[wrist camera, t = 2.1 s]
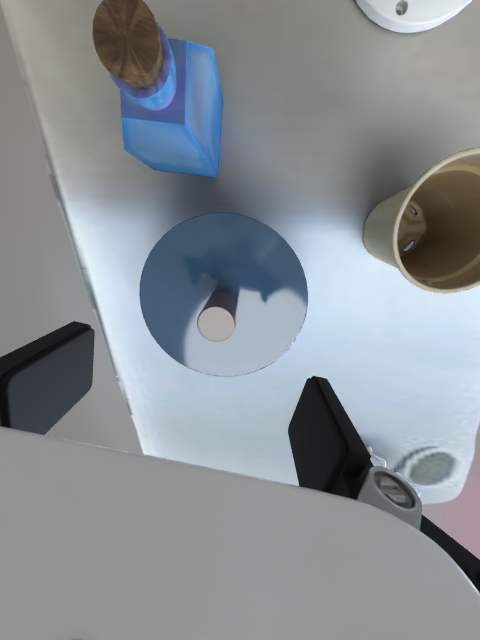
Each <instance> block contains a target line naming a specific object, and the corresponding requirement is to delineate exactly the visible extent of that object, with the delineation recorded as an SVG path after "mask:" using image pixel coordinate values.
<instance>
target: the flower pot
mask: <svg viewBox="0 0 480 640" xmlns="http://www.w3.org/2000/svg"><path fill="white" fill-rule="evenodd" d="M410 206H411V207H413V208H414V209H415V210H416V212H417V215H416V216H415V215H414V214H413V213H411V210H410ZM363 241H364V245H365V247H366V249H367V251H368V252H369V253H370V254H371V255H372V256H373V257H375V258H376V259H379V260H381V261H383V262H385V263H388V264H390V265H392V266H394V267H396V268H398V269H399V271H400V272H401V274H402V275H403V276H404V277H405V278H406V279H407V280H408V281H409V282H411V283H412V284H413V285H415V286H417V287H419V288H421V289H423V290H426V291H430V292H434V293H444V294H446V293H457V292H461V291H465V290H469V289H472V288H474V287H477V286H479V285H480V147H477V148H472V149H468V150H464V151H461V152H458V153H456V154H453V155H451V156H449V157H447V158H445V159H444V160H442V161H440V162H438V163H437V164H435V165H434V166H433V167H431V168H430V169H429V170H427V171H426V172H425V173H424V174H423V175H422V176H421V177H420V178H419V179H418V180H417V181H416V182H415V183H414V184H413V186H411V187H409V188H407V189H405V190H403V191H401V192H400V193H398V194H396V195H394V196H392V197H390V198H388V199H386V200H384V201H383V202H381V203H380V204H378V205H377V206H376V207H375V208H374V209H373V210H372V212H371V213H370V214H369V216H368V218H367V220H366V222H365V226H364V235H363ZM412 241H414V243H413V245H412V246H411V247H410V248H409V249H408V250H407V251H404V249H405V248H406V247H407V246H408V245H409V244H410V243H411V242H412Z"/></svg>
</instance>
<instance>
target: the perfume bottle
mask: <svg viewBox="0 0 480 640" xmlns="http://www.w3.org/2000/svg"><path fill="white" fill-rule="evenodd" d="M93 40H94V45H95V49H96V52H97V54H98V56H99V58H100V61H101V62H102V64H103V65H104V66H105V68H106V69H107V70H108V71H109V73H110V75H111V77H112V79H113V81H114V82H115V83H116V85H117V86H118V87H119V88H120V99H121V119H122V132H123V144H124V150H126V151H127V152H129V153H130V154H132V155H133V156H135V157H136V158H137V159H139V160H140V161H142V162H143V163H145V164H146V165H148V166H149V167H151V168H152V169H154V170H159V171H167V172H175V173H184V174H192V175H200V176H209V177H218V162H219V148H220V133H221V119H222V104H223V97H222V91H221V86H220V81H219V75H218V70H217V64H216V59H215V54H214V49H212V48H209V47H206V46H202V45H199V44H196V43H193V42H189V41H185V40H177V39H169V38H166V36H165V33H164V32H163V31H162V29H161V28H160V26H159V25H158V23H157V22H156V21H155V18H154V15H153V14H152V12H151V11H150V9H149V8H148V6H147V5H146V3H144V2H143V1H142V0H103V1H102V2H101V3H100V5H99V6H98V8H97V10H96V13H95V17H94V20H93Z"/></svg>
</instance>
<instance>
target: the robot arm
mask: <svg viewBox="0 0 480 640" xmlns="http://www.w3.org/2000/svg"><path fill="white" fill-rule="evenodd" d="M471 1H472V0H356V2H357V4H358V6H359V7H360V8H361V9H362V11H363V12H364V13H365V14H366V15H367V17H368V18H370V19H371V20H372V21H374V22H375V23H376V24H378V25H379V26H381V27H383V28H386V29H388V30H391V31H393V32H401V33H414V32H421V31H425V30H428V29H431V28H433V27H436V26H439V25H441V24H442V23H444V22H446V21H447V20H449V19H450V18H452V17H454V16H455V15H457V14H458V13H459V12H460V11H461V10H462V9H463V8H465V7H466V6H467V5H468V4H469V3H470V2H471ZM94 334H95V333H94V330H93V329H91V326H90V325H88V324H84V323H79V322H75V321H74V322H71V323H69V324H67V325H66V326H63V327H61V328H59V329H57V330H55V331H53V332H51V333H49V334H47V335H45V336H43V337H41V338H39V339H37V340H35V341H33V342H31V343H29V344H27V345H25V346H23V347H21V348H19V349H17V350H15V351H13V352H11V353H9V354H6V355H4V356H2V357H0V640H480V560H479V559H478V558H476V557H475V556H474V555H473V554H472V553H470V552H469V551H468V550H467V549H465V548H464V547H463V546H461V545H460V544H459V543H458V542H456V541H455V540H454V539H453V538H451V537H450V536H449V535H447V534H446V533H445V532H444V531H442V530H441V529H440V528H439V527H437V526H436V525H435V524H433V523H432V522H431V521H430V520H428V519H427V518H426V517H425V516H423V515H422V503H421V500H420V498H419V496H418V494H417V493H416V491H415V490H414V489H413V487H412V486H411V485H410V484H409V483H408V482H407V481H406V480H405V479H404V478H402V477H401V476H400V475H398V474H397V473H395V472H394V471H392V470H390V469H388V468H385V467H382V466H373V464H372V462H371V460H370V458H371V456H370V454H369V452H368V450H367V448H366V447H365V445H364V443H363V441H362V440H361V438H360V436H359V434H358V433H357V431H356V429H355V427H354V426H353V424H352V422H351V420H350V419H349V417H348V415H347V413H346V412H345V410H344V408H343V406H342V404H341V403H340V401H339V399H338V397H337V396H336V394H335V392H334V390H333V389H332V387H331V385H330V383H329V382H328V380H327V379H325V378H321V377H316V376H313V377H312V378H311V379H310V378H308V379H307V381H306V383H305V386H304V389H303V391H302V394H301V396H300V399H299V401H298V404H297V406H296V409H295V412H294V414H293V417H292V419H291V422H290V424H289V428H288V434H289V439H290V444H291V449H292V453H293V458H294V463H295V467H296V472H297V477H298V481H299V486H295V485H290V484H285V483H281V482H276V481H271V480H266V479H261V478H257V477H252V476H247V475H242V474H237V473H233V472H228V471H223V470H218V469H213V468H208V467H204V466H199V465H194V464H189V463H184V462H179V461H174V460H169V459H164V458H159V457H154V456H149V455H144V454H139V453H134V452H129V451H124V450H119V449H114V448H108V447H104V446H98V445H93V444H88V443H83V442H78V441H72V440H68V439H62V438H57V437H52V436H47V435H45V434H46V433H47V432H48V430H50V429H51V427H53V426H54V425H55V424H56V423H57V422H58V421H59V420H60V419H61V418H62V417H63V416H64V415H65V414H66V413H67V412H68V411H69V410H70V409H71V408H72V407H73V406H74V405H75V404H76V403H77V402H78V401H79V400H80V399H81V398H82V397H83V396H84V395H85V394H86V393H87V392H88V391H89V390H90V388H91V386H92V377H93V355H94Z"/></svg>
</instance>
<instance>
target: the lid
mask: <svg viewBox="0 0 480 640" xmlns="http://www.w3.org/2000/svg"><path fill="white" fill-rule="evenodd" d="M140 304H141V309H142V313H143V317H144V320H145V322H146V325H147V327H148V329H149V331H150V333H151V335H152V336H153V337H154V339H155V340H156V342H157V343H158V344H159V345H160V347H161V348H162V349H163V350H164V351H165V352H166V353H167V354H168V355H170V356H171V357H172V358H173V359H175V360H176V361H177V362H179V363H180V364H182V365H184V366H186V367H188V368H190V369H192V370H195V371H197V372H201V373H204V374H208V375H214V376H226V377H227V376H239V375H245V374H249V373H252V372H255V371H258V370H260V369H262V368H264V367H266V366H268V365H270V364H271V363H273V362H274V361H276V360H277V359H278V358H280V357H281V356H282V355H283V354H284V353H285V352H286V351H287V350H288V349H289V348H290V346H291V345H292V344H293V343H294V341H295V339H296V338H297V336H298V334H299V333H300V330H301V328H302V326H303V323H304V320H305V316H306V312H307V305H308V290H307V282H306V278H305V274H304V271H303V268H302V266H301V264H300V261H299V259H298V258H297V256H296V254H295V253H294V251H293V249H292V248H291V247H290V246H289V245H288V243H287V242H286V241H285V240H284V239H283V238H282V237H281V236H280V235H279V234H278V233H277V232H275V231H274V230H272V229H271V228H270V227H268V226H267V225H265V224H263V223H261V222H259V221H257V220H255V219H252V218H249V217H246V216H243V215H237V214H232V213H211V214H204V215H200V216H196V217H193V218H191V219H188V220H186V221H183V222H182V223H180V224H178V225H177V226H175V227H173V228H172V229H171V230H170V231H168V232H167V233H166V234H165V235H164V236H163V237H162V238H161V239H160V240H159V241H158V242H157V243H156V245H155V246H154V248H153V249H152V251H151V252H150V254H149V256H148V258H147V260H146V262H145V265H144V268H143V271H142V275H141V281H140Z"/></svg>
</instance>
